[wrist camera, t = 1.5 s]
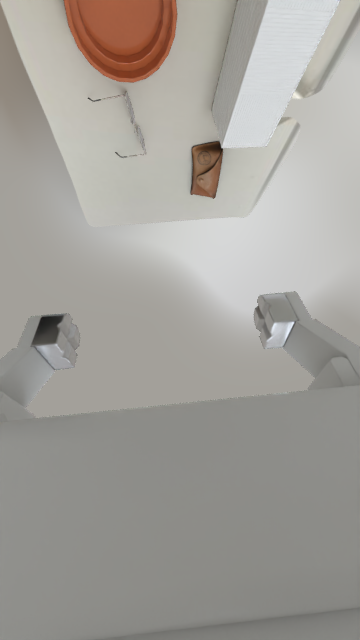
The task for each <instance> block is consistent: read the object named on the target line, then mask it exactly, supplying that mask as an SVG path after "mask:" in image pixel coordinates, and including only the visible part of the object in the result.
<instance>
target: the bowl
mask: <svg viewBox="0 0 360 640" xmlns="http://www.w3.org/2000/svg"><path fill="white" fill-rule="evenodd" d="M64 4H65V9H66V15H67V20H68V25H69V28H70V30H71V32H72V35H73V37H74V39H75V42H76V44H77V46H78V48H79V49H80V51H81V52H82V54H83V55H84V56H85V58H86V59H87V60H88V62H89V63H90V64H91V65H92V66H93V67H94V68H96V69H97V70H98V71H99V72H100V73H102V74H103V75H104V76H106V77H109V78H111V79H113V80H116V81H119V82H136V81H139V80H143V79H146V78H147V77H149V76H150V75H151V74H153V73H154V72H155V71H157V70H158V69H159V67H160V66H161V65H162V63H163V62H164V60H165V59H166V57H167V56H168V54H169V51H170V49H171V46H172V43H173V40H174V37H175V30H176V21H177V8H176V0H64Z"/></svg>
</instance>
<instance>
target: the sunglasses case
mask: <svg viewBox="0 0 360 640" xmlns="http://www.w3.org/2000/svg"><path fill="white" fill-rule="evenodd" d="M222 155H223V148H221V144H220V142H211V143H205V144H201V145H197V146H194V147H193V148H192V158H193V176H192V188H191V195H193V194H196V195H201V196H207V197H212V198H213V199H214V198H215V196H216V192H217V187H218V181H219V175H220V169H221V163H222Z"/></svg>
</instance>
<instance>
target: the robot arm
mask: <svg viewBox="0 0 360 640" xmlns="http://www.w3.org/2000/svg"><path fill="white" fill-rule="evenodd" d="M257 303H258V305H259V306H257V307H256V308H255V311H254V321H255V325H256V329H258V330H259V331H260V332H261V333H260V336H259V337H260V340H261V342H262V345H263V348H264V349H271V348H283V349H284V350H285V351H286V352H287V353H288V354H290V355H291V356H292V357H293V358H294V359H295V360H296V361H297V362H298V363H299V364H300V365H301V366H303V367H304V368H305V369H306V370H307V371H308V372H309V373H310V374H311V375H312V376H313V377H315V380H314V381H313V382H312V383H311V385H310V386H309V387H308V390H306V391H297V392H287V393H277V394H267V395H258V396H248V397H238V398H228V399H218V400H208V401H198V402H189V403H179V404H169V405H160V406H150V407H140V408H131V409H120V410H112V411H101V412H92V413H81V414H73V415H63V416H52V417H43V418H35V416H34V414H33V413H31V412H30V411H28V410H27V409H26V407H27V406H28V404H29V403H30V402H31V401H32V400H33V398H34V397H35V396H36V395H37V393H38V392H39V390H40V389H41V388H42V387H43V386H44V384H45V383H46V382H47V381H48V379H49V378H50V377H51V376H52V374H53V373H54V372H55V370H60V369H68V368H74V367H75V363H76V357H77V353H76V352H75V350H76V349H77V347H78V346H79V343H80V333H79V330H78V327H77V326H76V325H74V324H73V323H72V318H71V316H70V314H67V313H66V314H52V315H41V316H31V317H30V318H29V319H28V321H27V324H26V326H25V329H24V331H23V333H22V336H21V338H20V341H19V343H18V346H17V348H15V349H12V350H11V351H10V352H8V353H7V354H6V355H5V356H4V357H3V358H1V359H0V640H360V347H359V346H358V345H356V344H354V343H353V342H351V341H350V340H348V339H347V338H345V337H343V336H342V335H340V334H339V333H337V332H335V331H334V330H332V329H330V328H329V327H327V326H326V325H324V324H322V323H321V322H319V321H318V320H316V319H314V320H312V318H311V316H310V315H309V313H308V311H307V309H306V307H305V306H304V304H303V302H302V301H301V299H300V297H299V295H298V294H297V293H296V292H295V291H294V292H285V293H275V294H266V295H260V296H259V297H258V300H257Z"/></svg>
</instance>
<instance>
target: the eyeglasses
mask: <svg viewBox="0 0 360 640" xmlns="http://www.w3.org/2000/svg"><path fill="white" fill-rule="evenodd" d="M121 96H125V100H126V104H127V107H128V109H129V112H130V115H131V123H132V124H134V126H135V117H134V111H133V108H132V104H131V101H130V98H129V96H128V93H127V91H126V92H125V95H124V94H123V95H118V96H114V97H109V98H104V99H110V98H116V97H121ZM88 99H90V98H88ZM104 99H99V100H95V101H100V100H104ZM90 100H91V99H90ZM91 101H93V100H91ZM95 101H94V102H95ZM135 132H137V133H138V136H139V139H140V142H141V145H142V147H143V150H144V153H145V154H140V155H146V152H145V144H144V139H143V136H142V133H141V130H140V128H139V126H138V127H137V130H136V126H135ZM115 153H116V152H115ZM116 154H117V153H116ZM117 155H118V154H117ZM118 156H119V155H118ZM133 156H139V155H133ZM120 157H121V156H120ZM125 157H131V156H125Z"/></svg>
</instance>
